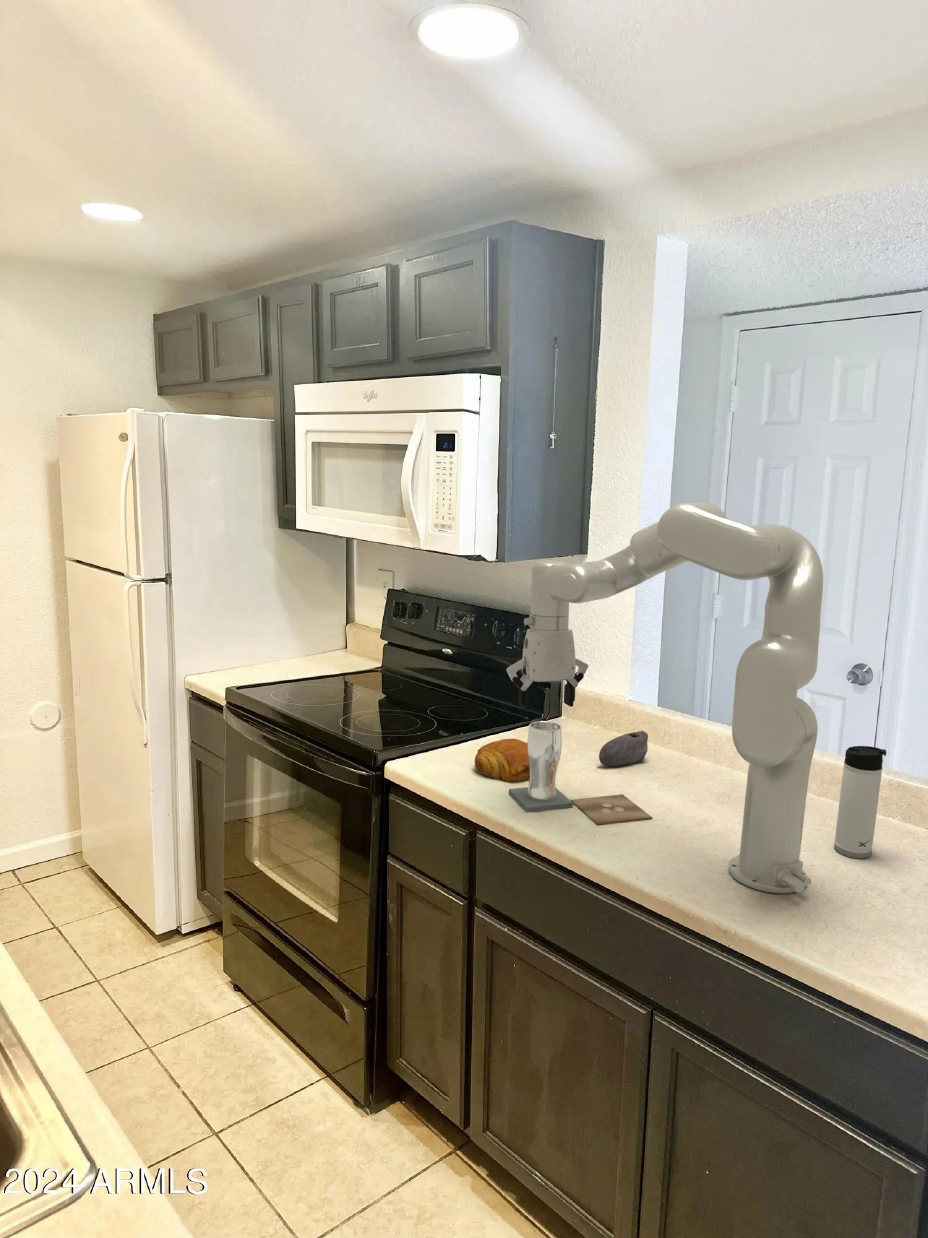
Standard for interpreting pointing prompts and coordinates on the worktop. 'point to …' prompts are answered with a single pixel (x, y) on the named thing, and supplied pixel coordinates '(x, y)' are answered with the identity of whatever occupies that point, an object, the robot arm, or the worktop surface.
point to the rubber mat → (535, 805)
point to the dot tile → (610, 809)
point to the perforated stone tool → (624, 749)
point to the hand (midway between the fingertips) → (546, 706)
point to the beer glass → (543, 759)
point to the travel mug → (858, 801)
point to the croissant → (504, 760)
